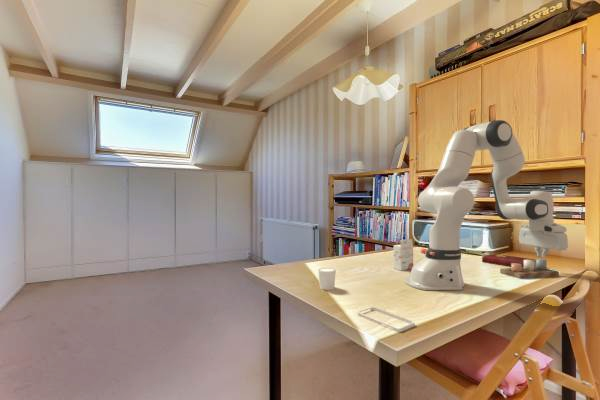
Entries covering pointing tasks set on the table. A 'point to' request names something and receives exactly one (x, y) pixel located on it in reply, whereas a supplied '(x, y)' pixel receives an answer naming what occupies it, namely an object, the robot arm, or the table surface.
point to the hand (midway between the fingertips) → (541, 257)
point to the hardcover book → (504, 260)
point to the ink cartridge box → (403, 255)
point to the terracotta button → (516, 267)
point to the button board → (529, 273)
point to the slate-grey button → (541, 264)
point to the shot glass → (327, 278)
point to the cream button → (528, 265)
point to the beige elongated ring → (388, 315)
